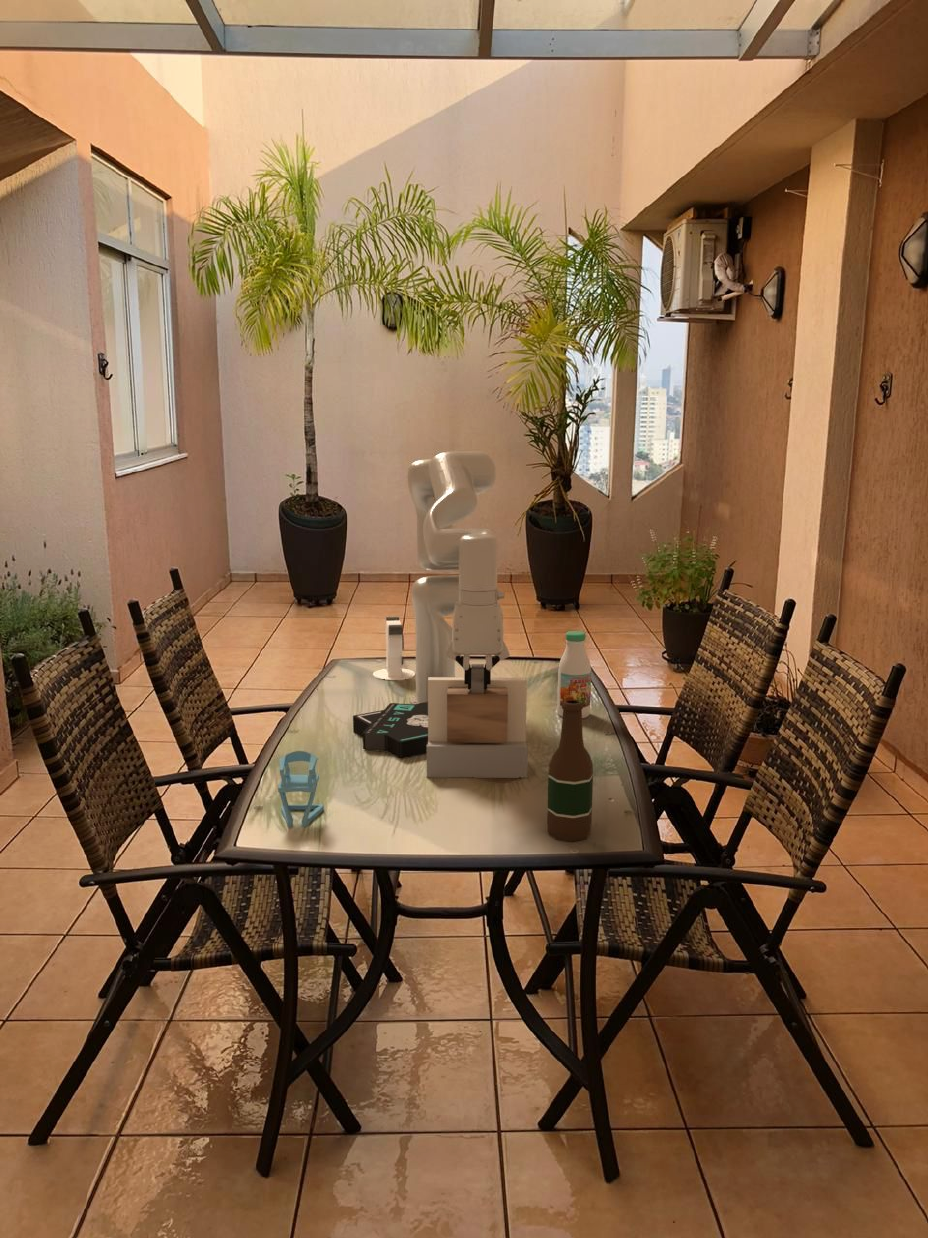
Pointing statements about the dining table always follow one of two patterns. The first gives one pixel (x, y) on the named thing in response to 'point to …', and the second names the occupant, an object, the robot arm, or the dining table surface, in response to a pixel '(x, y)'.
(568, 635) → the milk bottle
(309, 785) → the chair
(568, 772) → the beer bottle
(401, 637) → the white peg on disc
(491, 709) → the walnut cabinet
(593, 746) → the dining table surface
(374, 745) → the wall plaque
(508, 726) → the wall board
